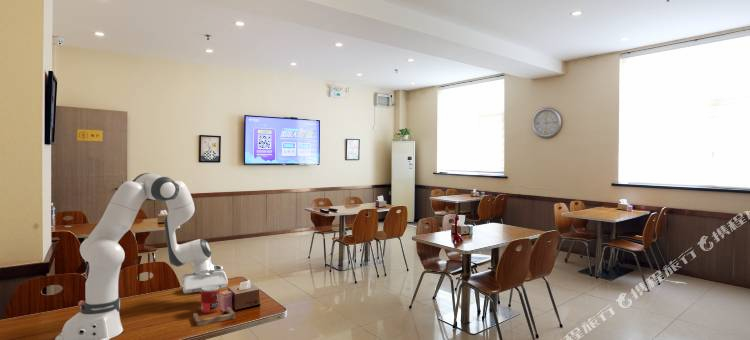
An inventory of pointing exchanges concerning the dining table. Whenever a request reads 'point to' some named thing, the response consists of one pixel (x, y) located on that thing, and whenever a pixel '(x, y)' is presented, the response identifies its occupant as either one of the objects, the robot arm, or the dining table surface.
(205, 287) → the canned food
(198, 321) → the tray
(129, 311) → the dining table surface
